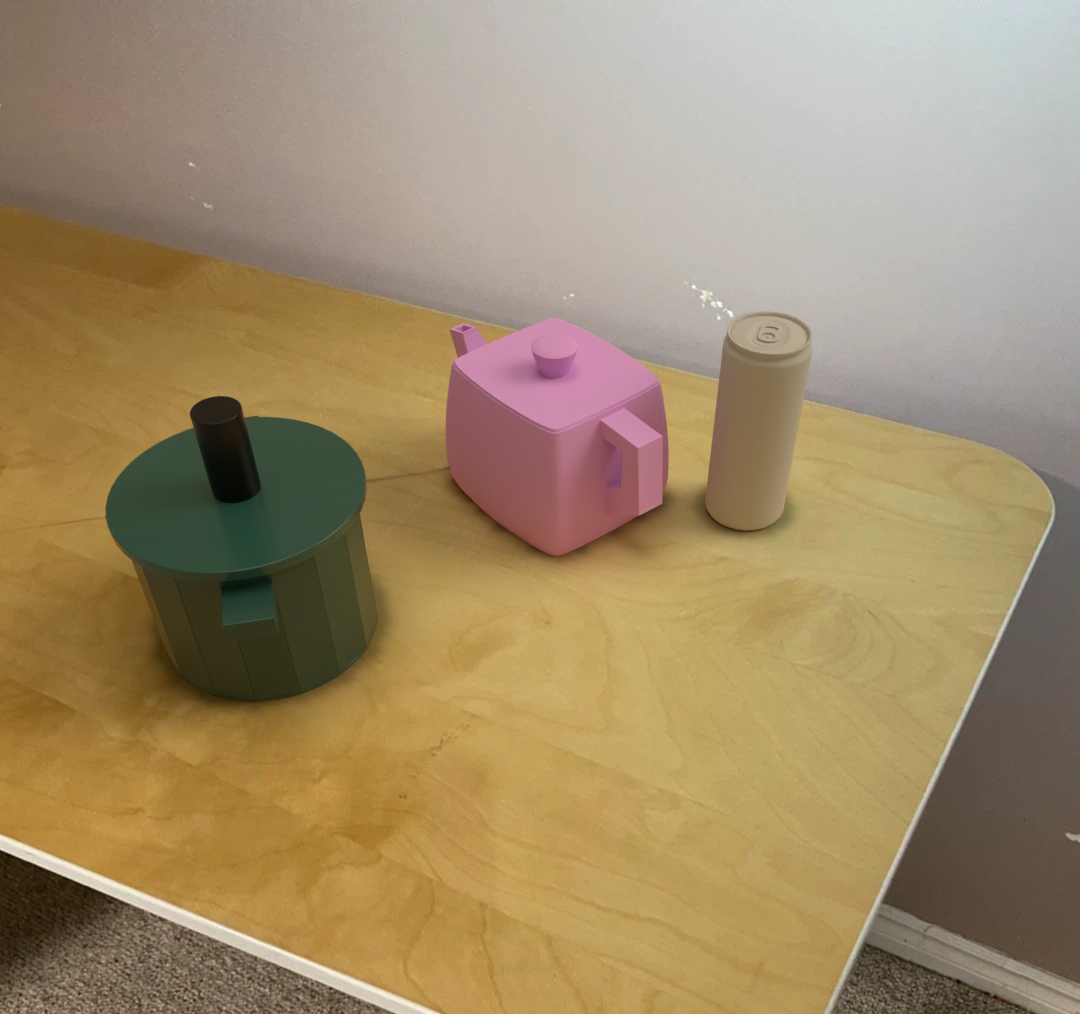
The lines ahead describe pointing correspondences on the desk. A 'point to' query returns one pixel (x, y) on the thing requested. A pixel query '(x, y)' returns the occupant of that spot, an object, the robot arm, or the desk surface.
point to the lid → (235, 496)
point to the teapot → (555, 433)
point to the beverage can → (757, 418)
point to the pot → (269, 623)
